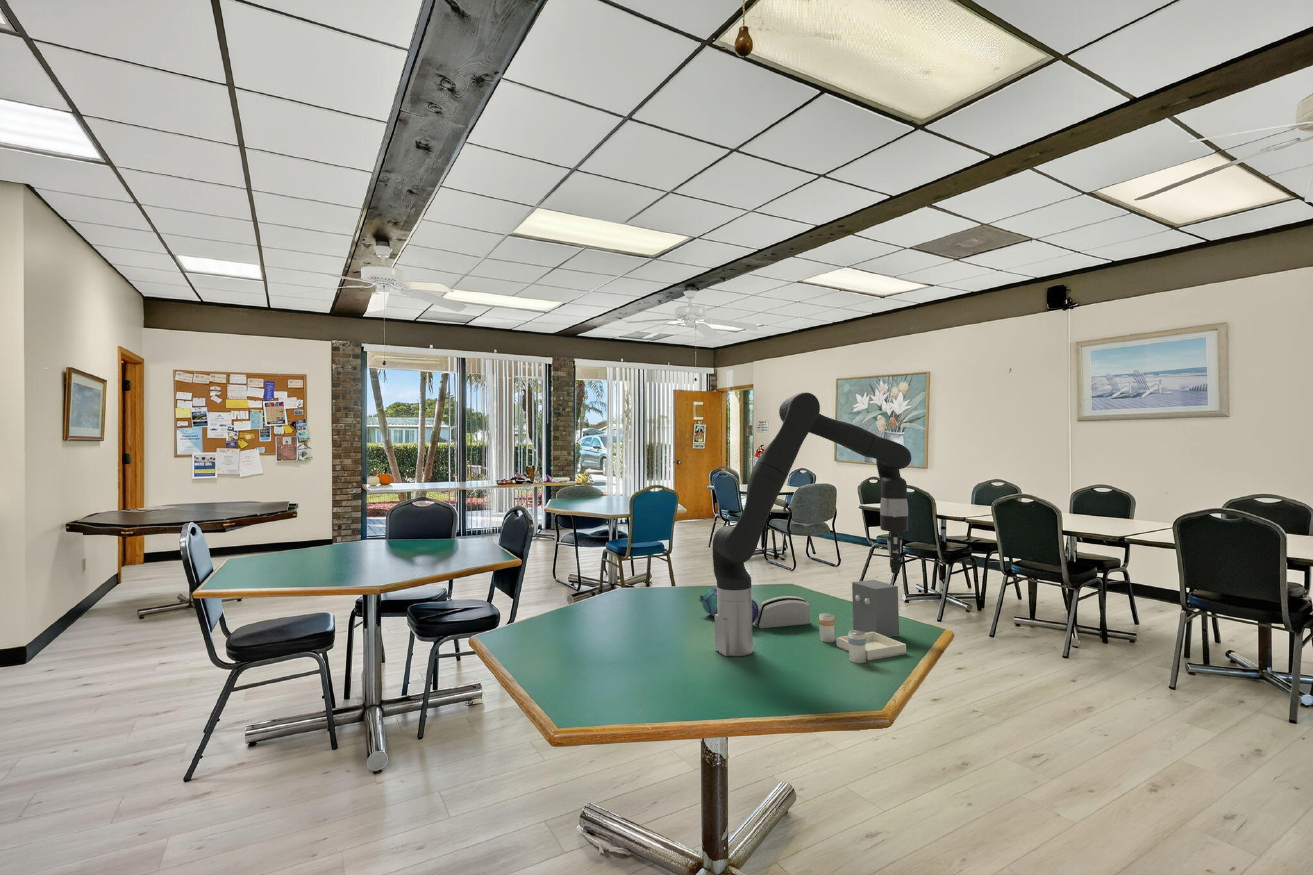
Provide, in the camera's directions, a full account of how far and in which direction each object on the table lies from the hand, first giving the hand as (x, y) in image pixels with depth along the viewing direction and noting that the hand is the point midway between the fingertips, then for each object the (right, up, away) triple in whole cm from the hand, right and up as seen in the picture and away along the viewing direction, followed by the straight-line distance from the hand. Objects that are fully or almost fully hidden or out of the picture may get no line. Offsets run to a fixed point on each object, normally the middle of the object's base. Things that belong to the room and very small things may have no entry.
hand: (894, 570), depth 176 cm
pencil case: (-45, -20, +18) cm, 53 cm away
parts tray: (-11, -18, -13) cm, 25 cm away
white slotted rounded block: (-29, -20, +12) cm, 37 cm away
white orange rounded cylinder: (-20, -19, -4) cm, 28 cm away
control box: (-5, -19, +2) cm, 19 cm away
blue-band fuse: (-17, -18, -21) cm, 33 cm away
